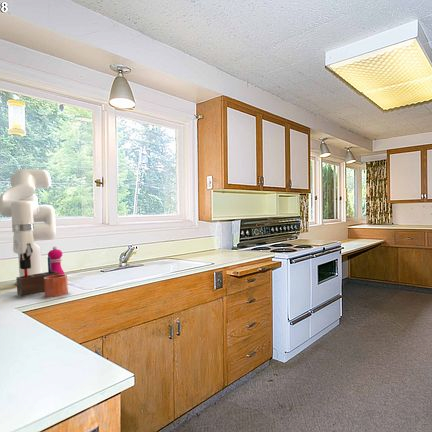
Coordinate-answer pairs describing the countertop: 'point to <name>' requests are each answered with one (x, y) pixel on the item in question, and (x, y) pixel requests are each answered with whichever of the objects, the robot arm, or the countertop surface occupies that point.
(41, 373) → the countertop surface
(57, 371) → the countertop surface
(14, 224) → the robot arm
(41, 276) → the caddy
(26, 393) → the countertop surface
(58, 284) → the crock
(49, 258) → the blue rounded rod
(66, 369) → the countertop surface
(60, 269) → the pepper mill
